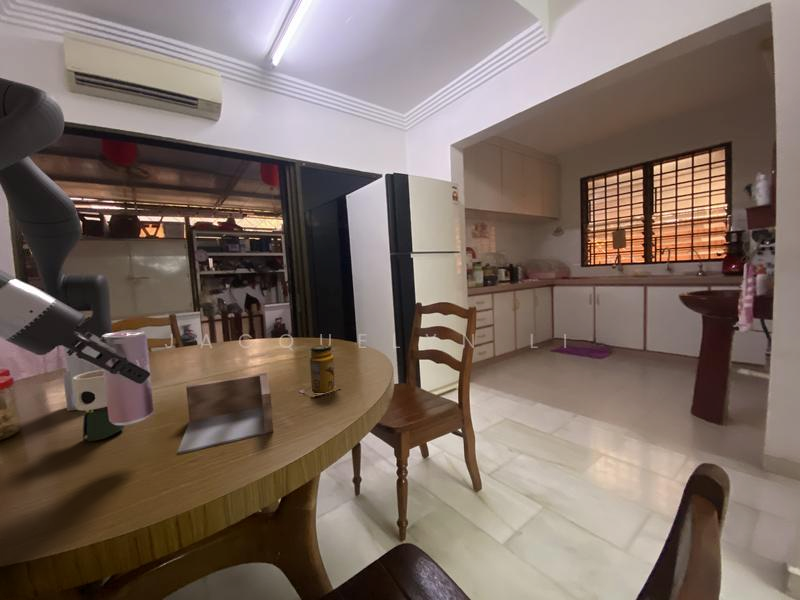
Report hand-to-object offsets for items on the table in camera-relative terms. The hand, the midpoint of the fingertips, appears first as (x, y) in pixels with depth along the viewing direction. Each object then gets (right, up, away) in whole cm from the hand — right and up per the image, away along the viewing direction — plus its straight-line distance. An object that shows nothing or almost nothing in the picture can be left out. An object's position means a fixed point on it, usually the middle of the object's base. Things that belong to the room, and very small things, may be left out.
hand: (140, 374), depth 56 cm
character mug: (-14, -15, +9) cm, 22 cm away
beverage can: (-1, -8, -1) cm, 8 cm away
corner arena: (+10, -13, +11) cm, 20 cm away
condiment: (+24, -11, +29) cm, 40 cm away
